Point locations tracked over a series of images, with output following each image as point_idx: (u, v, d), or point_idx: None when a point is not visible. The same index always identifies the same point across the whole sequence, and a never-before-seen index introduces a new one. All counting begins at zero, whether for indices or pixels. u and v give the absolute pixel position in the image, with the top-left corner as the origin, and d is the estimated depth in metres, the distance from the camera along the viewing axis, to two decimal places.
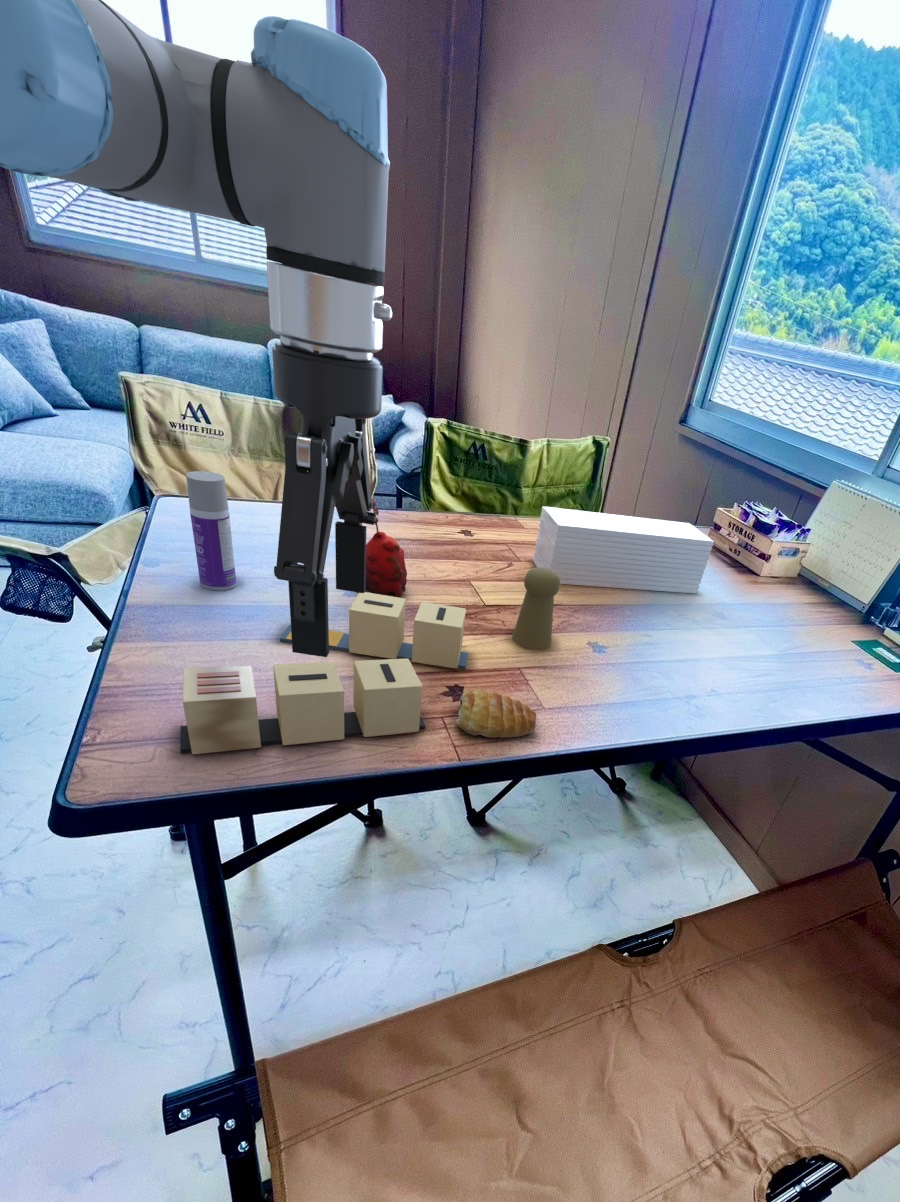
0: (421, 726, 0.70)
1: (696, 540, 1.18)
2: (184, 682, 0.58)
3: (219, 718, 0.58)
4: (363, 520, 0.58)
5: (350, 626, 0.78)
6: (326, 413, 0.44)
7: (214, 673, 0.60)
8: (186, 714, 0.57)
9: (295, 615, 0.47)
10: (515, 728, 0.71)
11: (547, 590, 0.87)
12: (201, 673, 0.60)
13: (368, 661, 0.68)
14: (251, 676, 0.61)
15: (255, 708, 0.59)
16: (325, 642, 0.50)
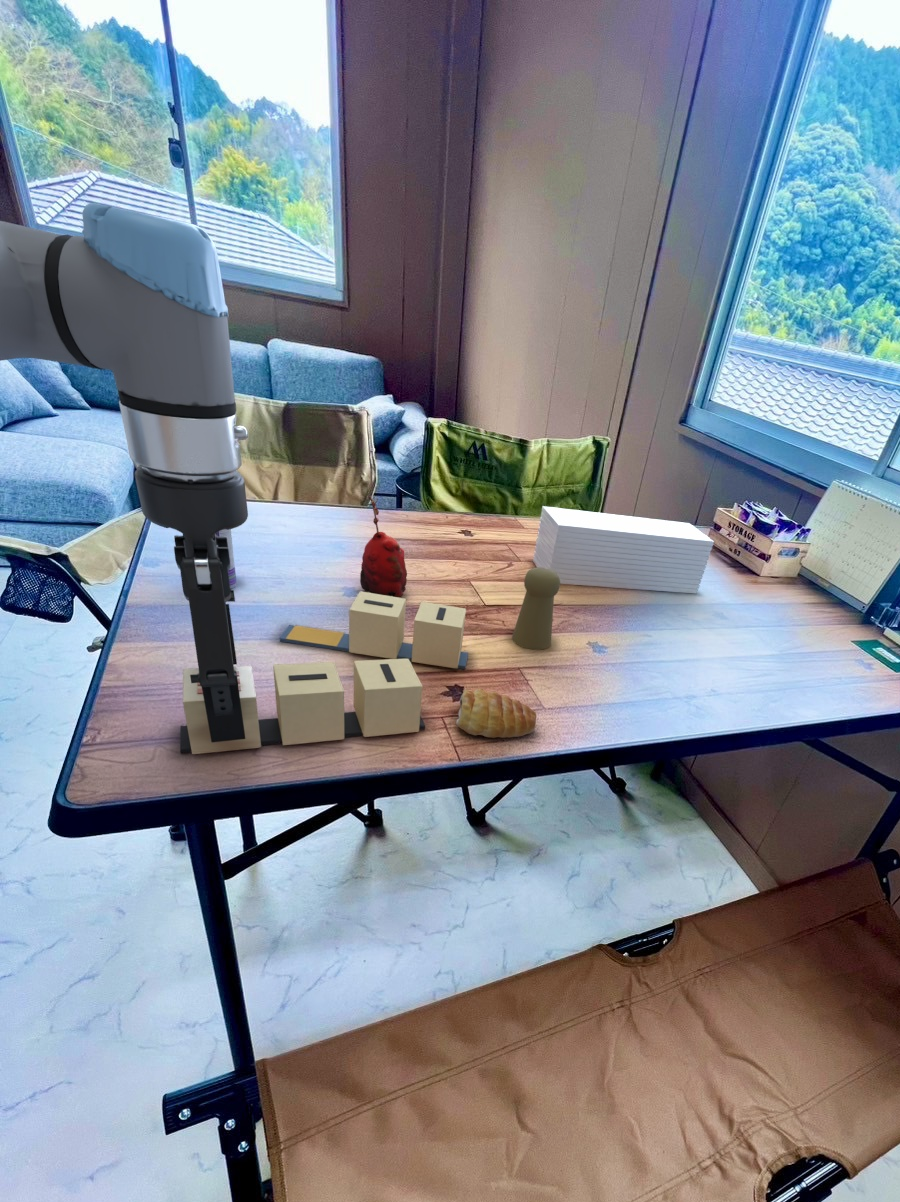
0: (421, 726, 0.70)
1: (696, 540, 1.18)
2: (184, 682, 0.58)
3: None
4: None
5: (350, 626, 0.78)
6: (208, 531, 0.48)
7: None
8: (186, 714, 0.57)
9: (215, 711, 0.52)
10: (515, 728, 0.71)
11: (547, 590, 0.87)
12: None
13: (368, 661, 0.68)
14: (251, 676, 0.61)
15: (255, 708, 0.59)
16: (242, 726, 0.55)
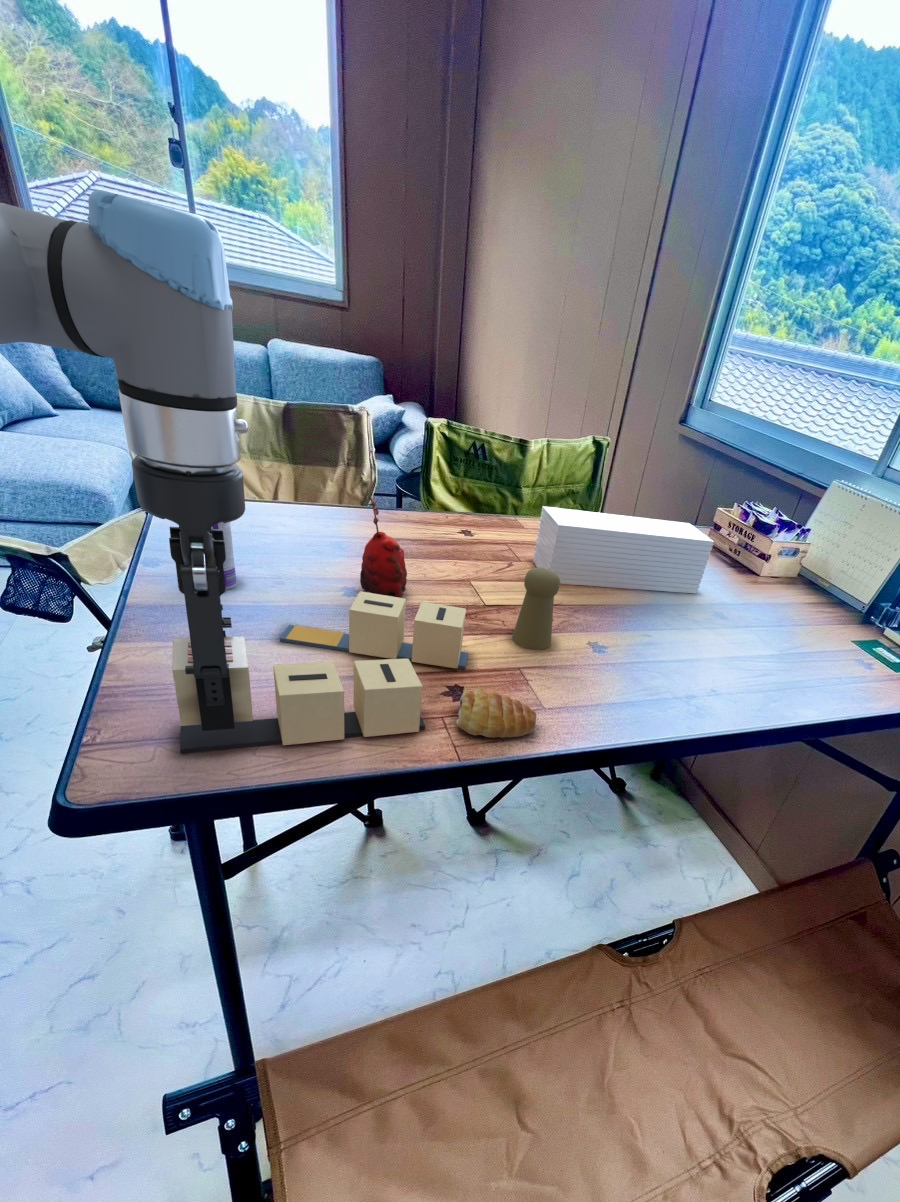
0: (421, 726, 0.70)
1: (696, 540, 1.18)
2: (174, 650, 0.56)
3: None
4: (221, 623, 0.60)
5: (350, 626, 0.78)
6: (205, 524, 0.48)
7: None
8: (175, 683, 0.55)
9: (207, 702, 0.55)
10: (515, 728, 0.71)
11: (547, 590, 0.87)
12: None
13: (368, 661, 0.68)
14: (244, 647, 0.59)
15: (247, 679, 0.57)
16: (232, 716, 0.58)
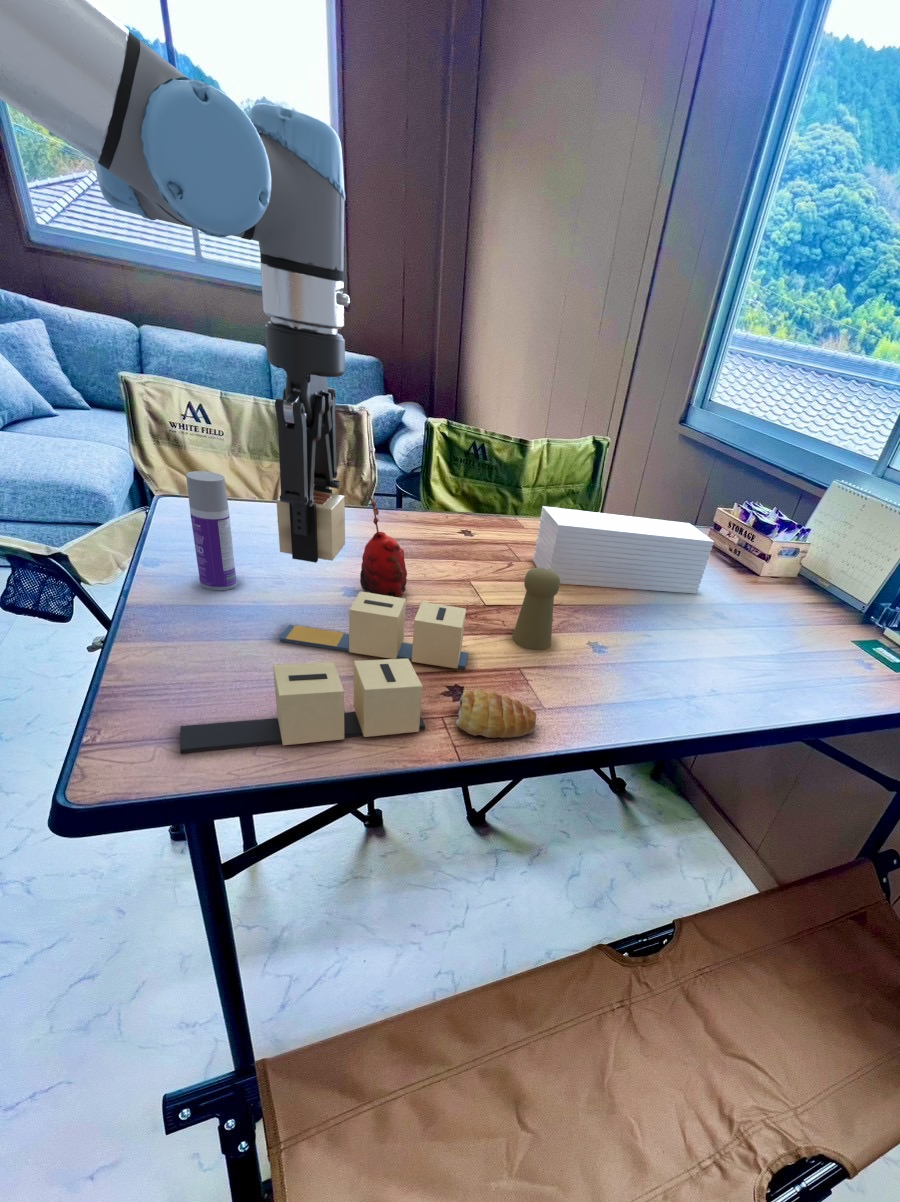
0: (421, 726, 0.70)
1: (696, 540, 1.18)
2: None
3: None
4: (329, 482, 0.74)
5: (350, 626, 0.78)
6: (303, 372, 0.61)
7: (313, 492, 0.73)
8: (278, 512, 0.70)
9: (294, 529, 0.69)
10: (515, 728, 0.71)
11: (547, 590, 0.87)
12: None
13: (368, 661, 0.68)
14: (338, 500, 0.73)
15: (330, 520, 0.70)
16: (315, 551, 0.72)
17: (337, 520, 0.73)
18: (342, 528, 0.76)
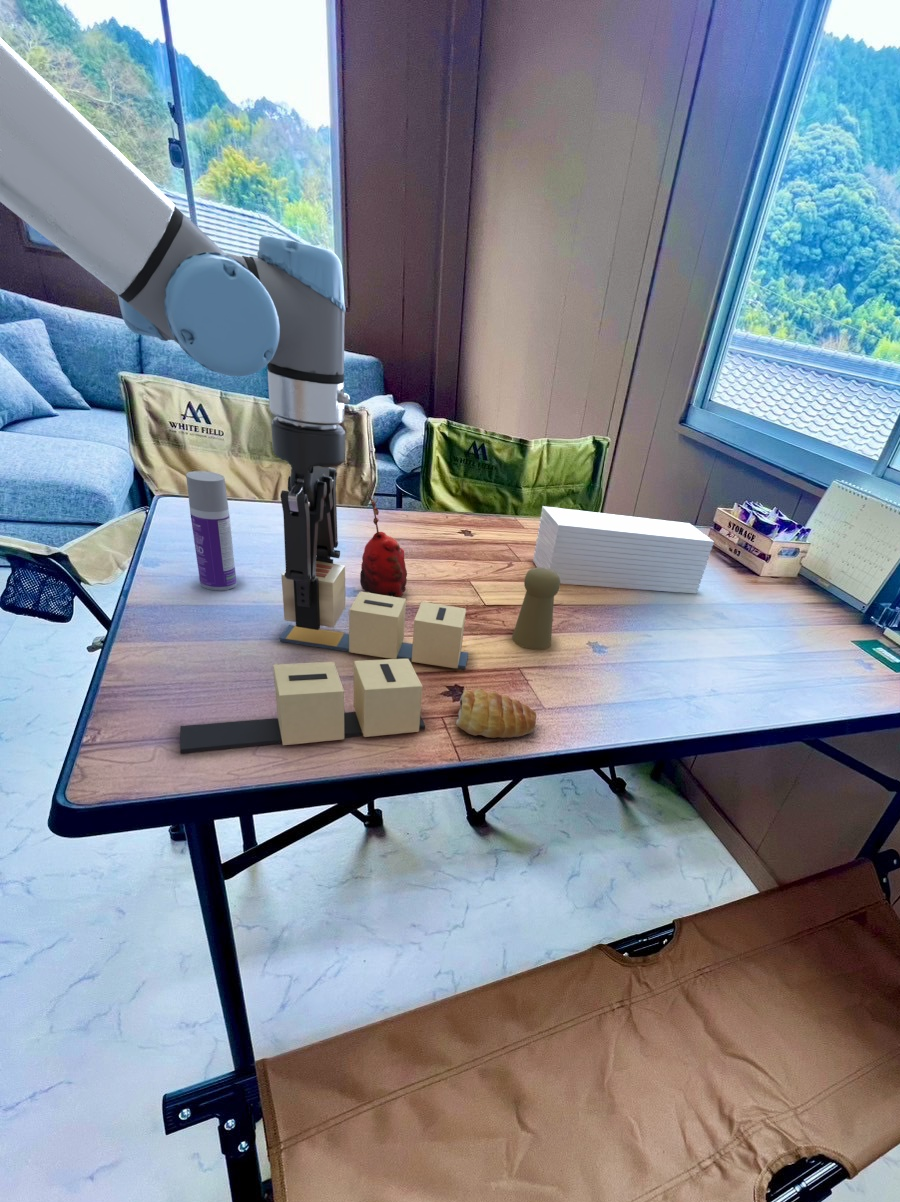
0: (421, 726, 0.70)
1: (696, 540, 1.18)
2: None
3: None
4: (330, 553, 0.79)
5: (350, 626, 0.78)
6: (307, 464, 0.66)
7: None
8: (282, 585, 0.75)
9: (298, 602, 0.74)
10: (515, 728, 0.71)
11: (547, 590, 0.87)
12: None
13: (368, 661, 0.68)
14: (339, 571, 0.78)
15: (331, 592, 0.75)
16: (317, 620, 0.77)
17: (338, 590, 0.78)
18: (343, 595, 0.81)
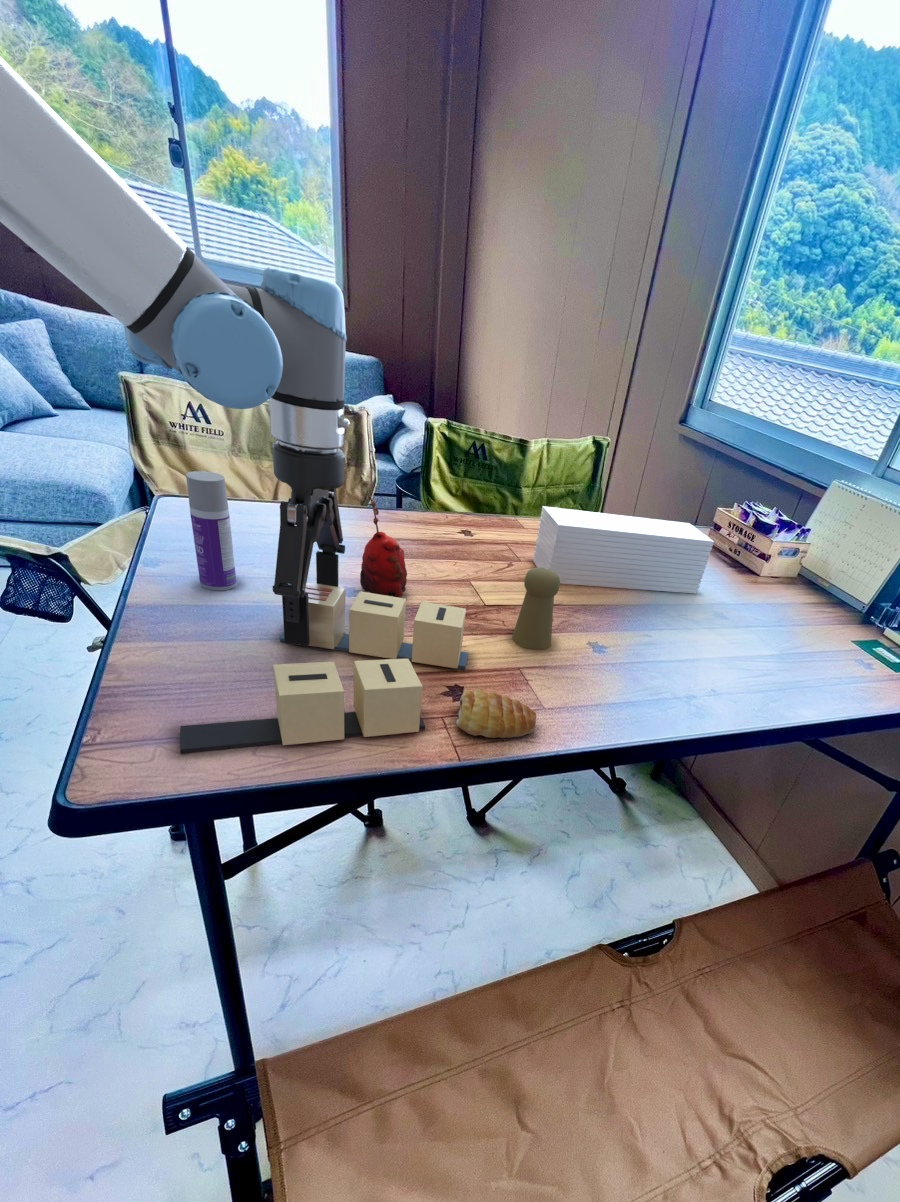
0: (421, 726, 0.70)
1: (696, 540, 1.18)
2: None
3: None
4: (336, 550, 0.82)
5: (350, 626, 0.78)
6: (307, 488, 0.68)
7: (316, 587, 0.80)
8: None
9: (286, 617, 0.71)
10: (515, 728, 0.71)
11: (547, 590, 0.87)
12: (307, 585, 0.80)
13: (368, 661, 0.68)
14: (339, 594, 0.80)
15: (332, 615, 0.77)
16: (307, 636, 0.74)
17: (338, 612, 0.80)
18: (343, 617, 0.82)
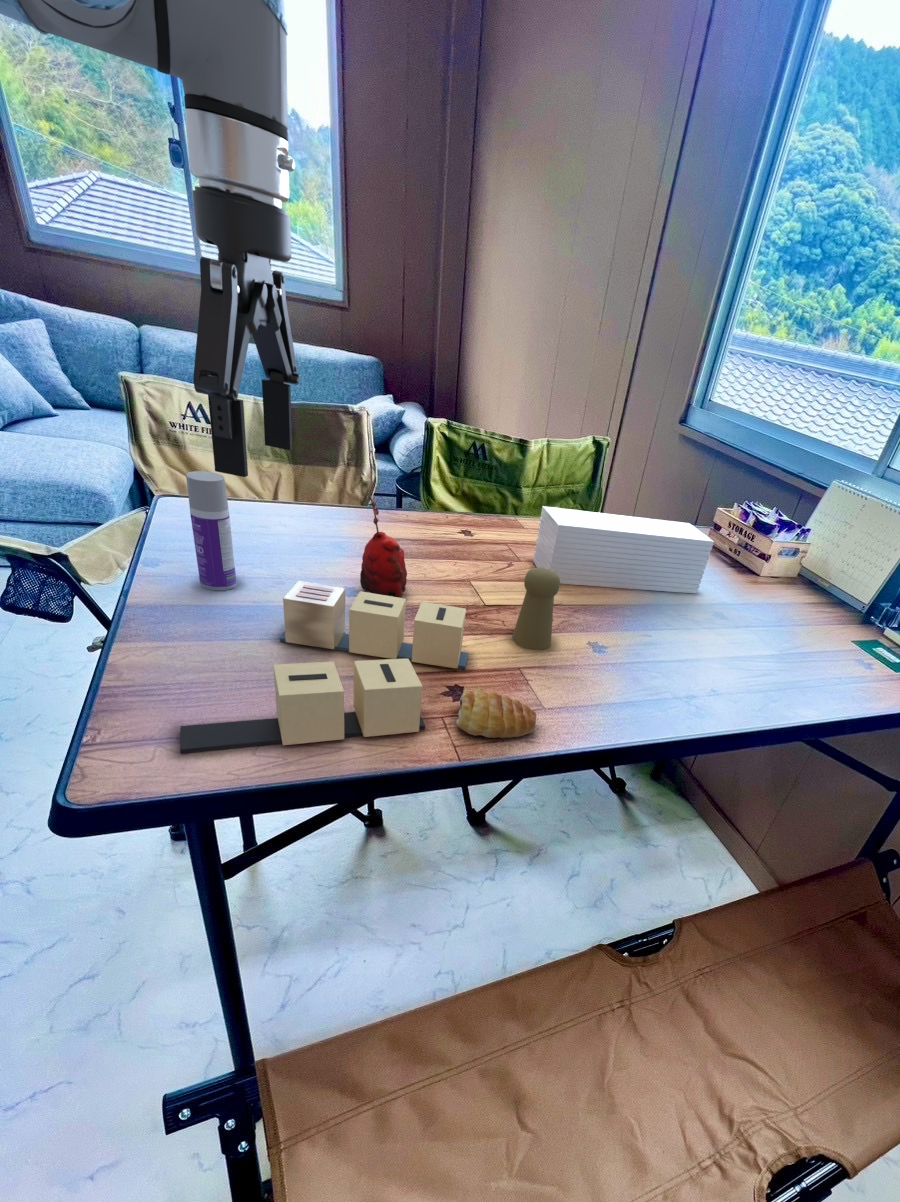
0: (421, 726, 0.70)
1: (696, 540, 1.18)
2: (293, 588, 0.78)
3: (306, 617, 0.77)
4: (287, 379, 0.66)
5: (350, 626, 0.78)
6: (238, 247, 0.52)
7: (316, 587, 0.80)
8: (284, 608, 0.76)
9: (214, 430, 0.55)
10: (516, 728, 0.71)
11: (547, 590, 0.87)
12: (307, 585, 0.80)
13: (368, 661, 0.68)
14: (339, 594, 0.80)
15: (332, 615, 0.77)
16: (243, 462, 0.58)
17: (338, 612, 0.80)
18: (343, 617, 0.82)
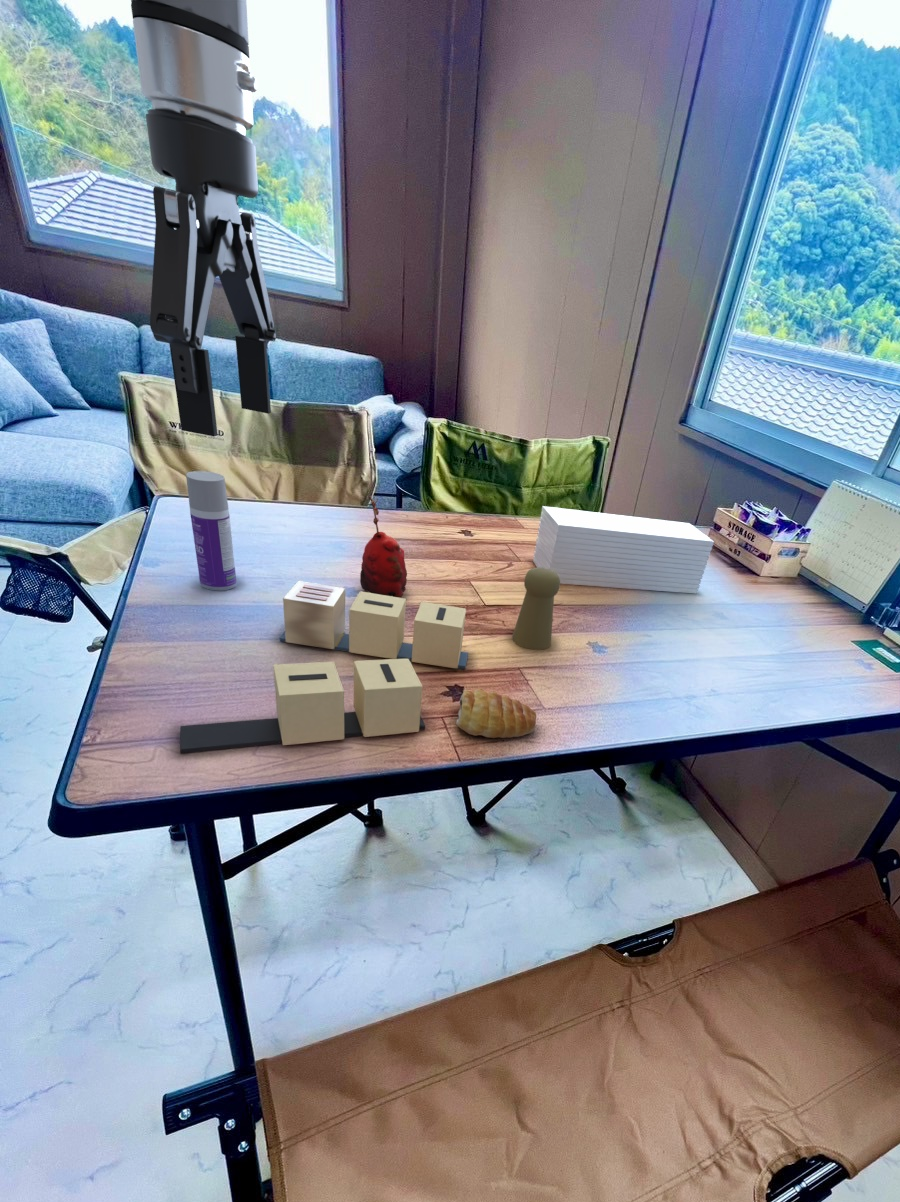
0: (421, 726, 0.70)
1: (696, 540, 1.18)
2: (293, 588, 0.78)
3: (306, 617, 0.77)
4: (262, 334, 0.62)
5: (350, 626, 0.78)
6: (196, 177, 0.47)
7: (316, 587, 0.80)
8: (284, 608, 0.76)
9: (177, 382, 0.51)
10: (516, 728, 0.71)
11: (547, 590, 0.87)
12: (307, 585, 0.80)
13: (368, 661, 0.68)
14: (339, 594, 0.80)
15: (332, 615, 0.77)
16: (211, 419, 0.53)
17: (338, 612, 0.80)
18: (343, 617, 0.82)
